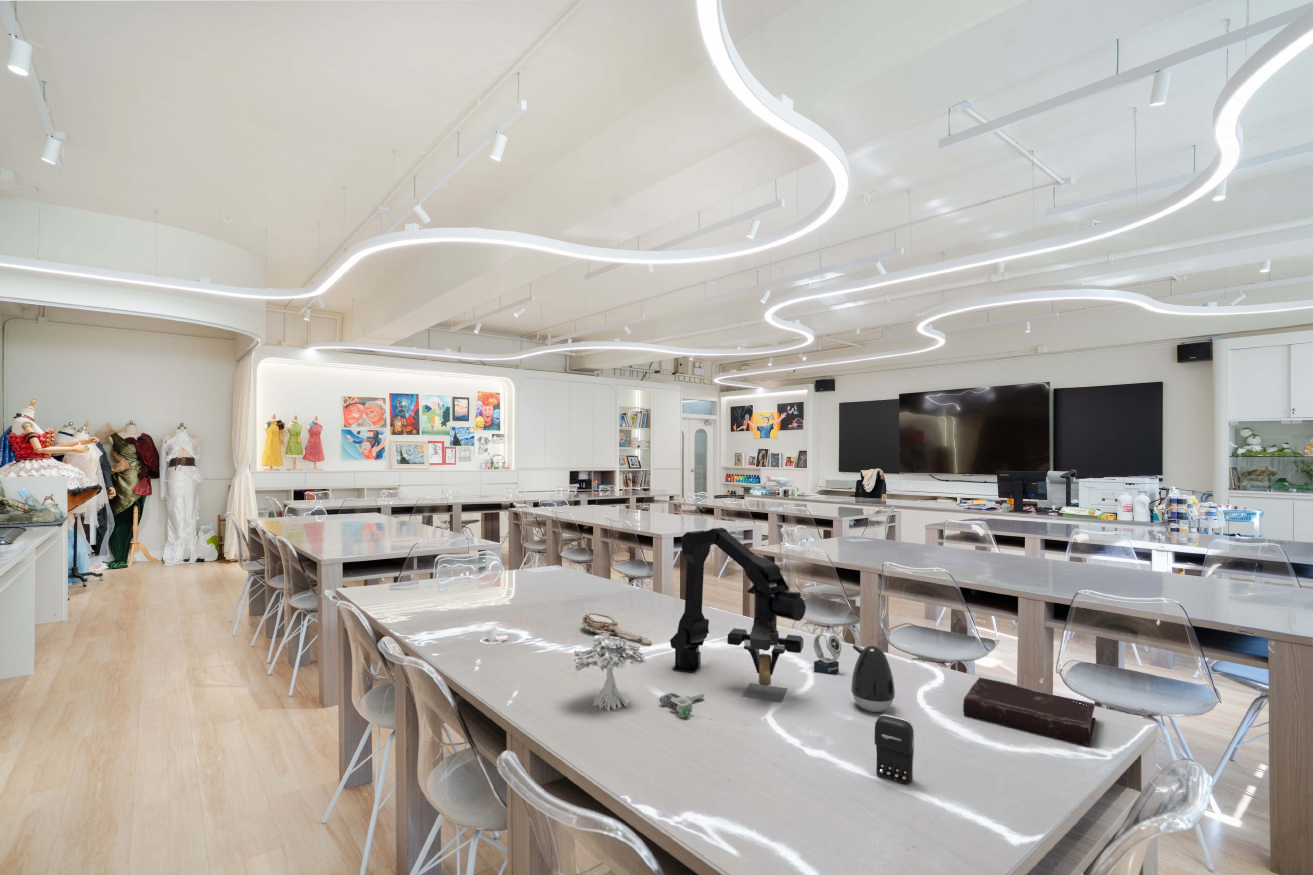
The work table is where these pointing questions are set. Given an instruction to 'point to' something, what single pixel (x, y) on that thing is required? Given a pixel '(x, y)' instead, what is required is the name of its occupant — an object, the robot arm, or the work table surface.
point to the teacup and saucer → (493, 636)
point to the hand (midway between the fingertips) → (764, 673)
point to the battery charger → (894, 748)
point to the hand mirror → (608, 627)
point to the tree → (609, 665)
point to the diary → (1031, 711)
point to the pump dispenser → (872, 680)
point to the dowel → (764, 669)
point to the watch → (825, 663)
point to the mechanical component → (680, 703)
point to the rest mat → (765, 692)
